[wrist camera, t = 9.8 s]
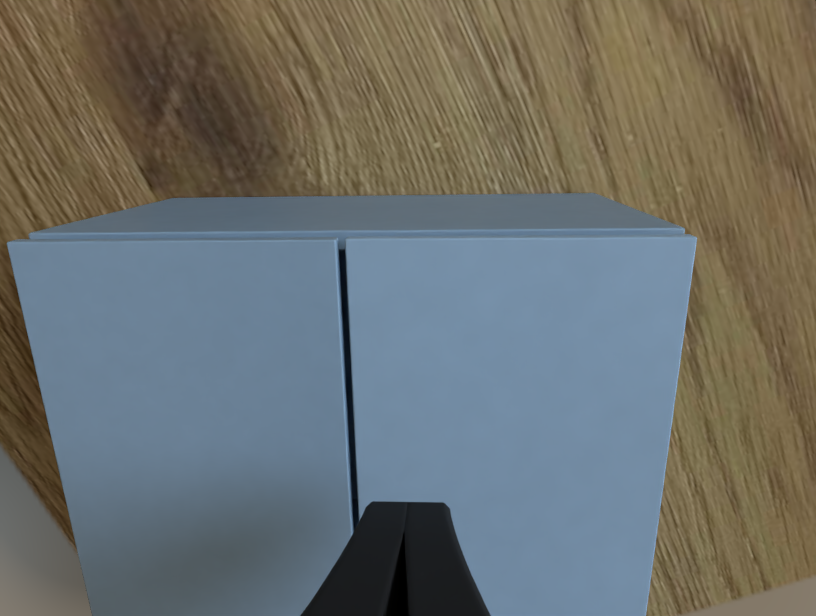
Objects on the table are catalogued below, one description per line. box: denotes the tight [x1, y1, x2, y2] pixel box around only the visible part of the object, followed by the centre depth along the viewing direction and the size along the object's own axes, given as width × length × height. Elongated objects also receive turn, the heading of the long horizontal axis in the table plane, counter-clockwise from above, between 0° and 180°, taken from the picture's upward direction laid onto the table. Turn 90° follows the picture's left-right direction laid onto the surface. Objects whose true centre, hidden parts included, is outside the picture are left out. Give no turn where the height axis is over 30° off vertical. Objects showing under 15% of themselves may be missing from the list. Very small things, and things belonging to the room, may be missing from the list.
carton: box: [7, 193, 685, 616], centre depth 15 cm, size 13×11×7 cm
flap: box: [345, 234, 697, 616], centre depth 12 cm, size 6×11×1 cm, turn 1°
